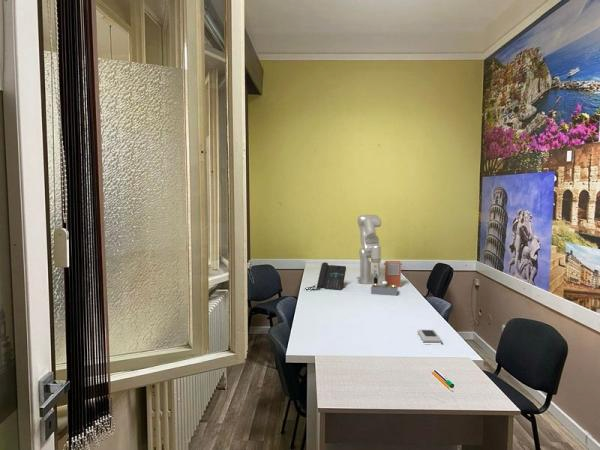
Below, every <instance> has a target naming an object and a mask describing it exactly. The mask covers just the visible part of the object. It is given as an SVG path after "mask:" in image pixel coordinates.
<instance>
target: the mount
mask: <svg viewBox="0 0 600 450" xmlns="http://www.w3.org/2000/svg"><path fill="white" fill-rule="evenodd" d="M398 289H399V287H398V286H396V288H391V286H386V288H385V287H383V284H381V285H380V284H378V286H377V287H374V286H373V284H372V285H371V288H370V294H371V295H378V296H379V295H382V296H398V292H399V291H398Z"/></svg>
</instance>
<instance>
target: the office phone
mask: <svg viewBox="0 0 600 450" xmlns="http://www.w3.org/2000/svg"><path fill="white" fill-rule="evenodd" d="M320 265H321V266H320V271H319V274H318V278H317V279H318V280H317V284H316V285H315V284H314V285H312V286H309V287H308V288H312V287H314V286H317V287H314V288H312V289H306V288H307V287H305V288H304V290H305V289H306V290H313V291H319V290H320V288H325V289H326V290H332V291H333V290H334V291H335V290H336V291H342V290H343V288H344V286H345V282H344V281H345V276H346V272H347V267H346V266H345V265H336V264H335V265H334V264H329V263H328V262H322V263H321V264H320ZM343 285H344V286H343ZM318 289H319V290H318Z"/></svg>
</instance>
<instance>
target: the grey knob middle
mask: <svg viewBox="0 0 600 450" xmlns="http://www.w3.org/2000/svg"><path fill="white" fill-rule="evenodd" d="M386 284H387V281H385V280H382V281H381V285H383V287H385V288H386Z"/></svg>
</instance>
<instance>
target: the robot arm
mask: <svg viewBox="0 0 600 450" xmlns="http://www.w3.org/2000/svg"><path fill="white" fill-rule="evenodd" d="M357 225H358V228H359V233H360V234H359V235H360V236H359V237H360V239H359V240H360V244H361V248H360V249H359V251H358V252H359V269H360V270H359V276H357V277H356V280H357V281H358V283H359V284H362V285H371V284H373V283H374V284H378V285H379V279H378V278H379V277H378V276H380V274H381V273H380V271H381V270H380V269H381V267H380V264H381V259H382V253H381V252H382V246H381V245H380V238H379V236H378V235H376V234H377V230H376V228H380V227H381V226H382V220H381V218H380V217H379V216H378V215H377V214H363V215H362V214H360V215H359V216H358V217H357ZM372 275H373V280H372Z"/></svg>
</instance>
